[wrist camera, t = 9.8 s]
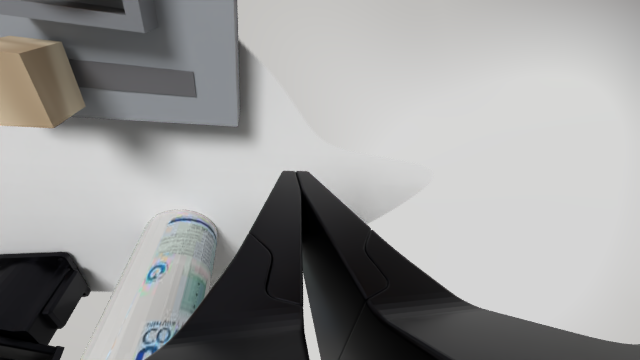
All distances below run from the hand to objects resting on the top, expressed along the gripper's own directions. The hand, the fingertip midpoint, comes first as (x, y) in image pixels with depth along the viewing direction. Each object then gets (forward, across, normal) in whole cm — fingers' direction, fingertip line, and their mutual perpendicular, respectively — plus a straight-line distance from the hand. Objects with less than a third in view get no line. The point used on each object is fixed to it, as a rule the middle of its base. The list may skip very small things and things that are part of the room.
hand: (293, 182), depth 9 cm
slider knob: (+9, +11, 0) cm, 15 cm away
